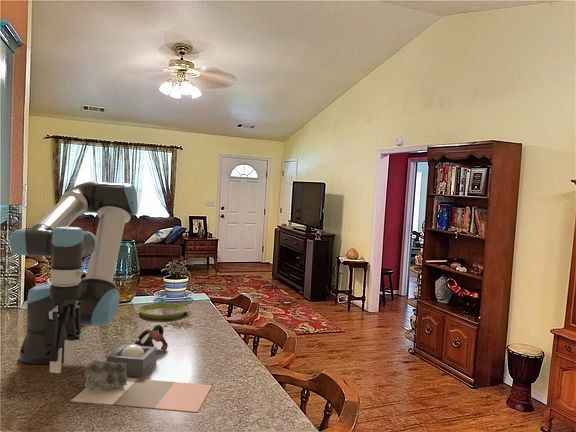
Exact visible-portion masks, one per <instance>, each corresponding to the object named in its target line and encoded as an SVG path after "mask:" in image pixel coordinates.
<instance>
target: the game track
mask: <svg viewBox="0 0 576 432" xmlns="http://www.w3.org/2000/svg"><path fill="white" fill-rule="evenodd" d="M126 383H127V385H124V386H123V387H121V388H120V389H114V388H112V387H109V388H108V389H107V390H102V389H101V388H100V387H96V388H95V389H94V390H93V391H91V390H89V388H88V387H84V389H83V390H82V391H80V393H78V394H77V395H76V396H75V397H73V398H72V399H71V400H70V401H71V402H74V403H75V402H77V403H85V404H87V403H89V404H95V405H96V404H98V405H109V406H117V407H118V406H120V407H130V408H131V407H132V408H142V409H143V408H144V409H154V410H163V411H174V412H176V411H177V412H184V413H185V412H188V413H196V414H197V413H199V411H200V409H201V407H202V405H203V403H204V402H205V400H206V398H207V396H208V395H209V392H210V391H211V389H212V388H213V385H212V384H203V383H190V382H178V381H177V382H176V381H165V380H154V379H143V378H134V377H133V378H132V377H127V380H126Z"/></svg>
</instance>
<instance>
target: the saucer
mask: <svg viewBox="0 0 576 432" xmlns="http://www.w3.org/2000/svg"><path fill="white" fill-rule="evenodd" d="M155 309H172V310H173V309H174V310H178V311H181V312H179V313H178V312H177V313H171V314H156V313H155V314H154V313H146V312H147V311H150V310H155ZM138 311H139V313H140V315H141V316H142V317H144V318H147V319H151V320H152V319H153V320H172V319H176V318H179V317H182V316H184V314H185V313H186V312H187V311H188V308H187V307H186V306H184V305H181V304H178V303H171V302H170V303H169V302H168V303H165V302H164V303H163V302H161V303H150V304H145V305H141V306H139V308H138Z"/></svg>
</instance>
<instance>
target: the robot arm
mask: <svg viewBox="0 0 576 432" xmlns="http://www.w3.org/2000/svg"><path fill="white" fill-rule="evenodd" d="M138 201H139V200H138V194H137V190H136V187H135V185H133V184H131V183H124V182H122V183H120V182H103V181H86V182H84V183H79V184H77V185H75V186H73V187H71V188H69V189H68V190H67V191H65V192H64V193H62V195H61V196H60V198H59V201H58V202H57V203H56V204H55V205H54V206H53V207H52V208H50V210H48V212H46V213H45V214H44V215H43V216H42V217H41V218H40V219H39V220H38V221H37V222H36V223H35V224H33V225H32V226H31V227H30V228H29V229H26V228H20V229H18V228H17V229H15V230H14V231H12V233H11V236H10V239H9V245H10V249H11V251H12V253H13V254H15V255H18V256H19V255H20V256H26V257H28V256H30V257H32V256H35V257H51V260H50V262H51V264H50V280H49V281H50V282H49V283H43V284H40V285H36V286H33V287H32V288H30V289H29V290H28V293H27V301H26V334H25V337H24V339H23V342H22V344H21V346H20V350H19V353H18V355H19V356H18V359H19V361H20V362H21V363H24V364H29V365H47V364H49V373H52V374H54V373H55V374H61V373H62V362H63V364H65V365H75V359H76V358H75V355H76V341H78V340H80V338H81V337H80V336H81V326H93V327H96V326H108V325H109V324H111V323H112V321H114V319H115V317H116V316H117V312H118V309H119V304H120V298H121V296H120V295H121V294H120V291H119V290H118V289H117V285H116V284H115V283H114V277H115V272H116V267H117V263H118V257H119V253H120V249H121V244H122V243H121V242H122V238H123V235H124V230H125V229H124V228H125V225H126V223H127V224H128V223H129V221H131V216H136V215H137V214H138V210H139V209H138V207H139V205H138V204H139V203H138ZM85 213H89V214H90V213H91V214H93V213H95V214H96V215H97V218H99V222H98V226H97V229H96V234H94V233H93V232H91V231H87V230H83V228H81V227H79V226H70V225H71V224H72V223H73V222H74V221H75V220H76V219H77V218H78V217H81V216H82V215H83V216H84V214H85ZM89 256H90V257H89ZM86 257H89V258H90V259H89V262H88V267H87V270H86V274H85V277H84V278H82V276H83V273H82V268H83V258H86Z"/></svg>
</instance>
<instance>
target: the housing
mask: <svg viewBox="0 0 576 432" xmlns="http://www.w3.org/2000/svg"><path fill="white" fill-rule="evenodd" d="M129 345H130V344H122V345H121V346H119V347H118V348H117V349H115V350H113V352H111V353H110V354H109V355H108V356H107V357H106V358H107V359H106V362H113V363H115V362H116V363H126V369H127V376H134V377H144V375H146V373H148V371H150V369H152V367H153V366H154V365H155V364H156V363H157V352H158V351H157V347H156V346H154V347H148V346H140V347H141V348H142V349H143V350H144V355H143V356H141V357H129V356H121V353H122V351H123V349H124V348H125V347H127V346H129Z"/></svg>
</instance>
